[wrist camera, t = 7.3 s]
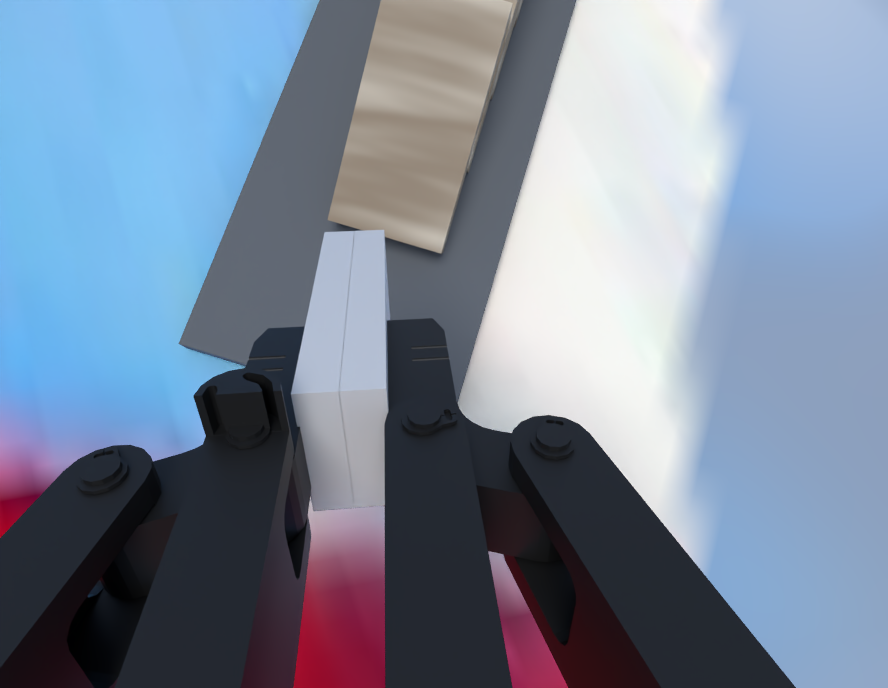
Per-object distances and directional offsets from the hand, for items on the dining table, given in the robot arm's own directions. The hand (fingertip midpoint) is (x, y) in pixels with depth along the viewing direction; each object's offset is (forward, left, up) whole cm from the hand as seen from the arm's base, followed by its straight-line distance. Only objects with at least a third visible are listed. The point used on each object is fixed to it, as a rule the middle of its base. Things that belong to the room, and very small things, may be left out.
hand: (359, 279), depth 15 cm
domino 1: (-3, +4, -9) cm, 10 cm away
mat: (-6, +11, -11) cm, 17 cm away
